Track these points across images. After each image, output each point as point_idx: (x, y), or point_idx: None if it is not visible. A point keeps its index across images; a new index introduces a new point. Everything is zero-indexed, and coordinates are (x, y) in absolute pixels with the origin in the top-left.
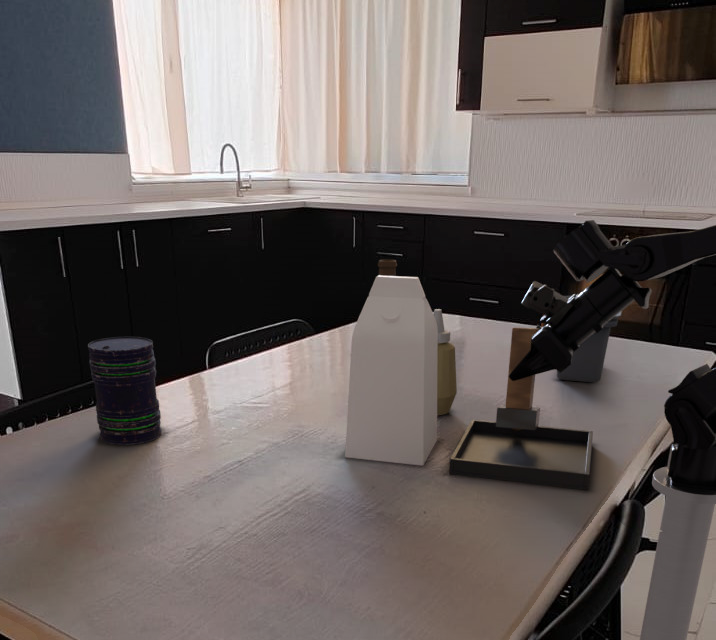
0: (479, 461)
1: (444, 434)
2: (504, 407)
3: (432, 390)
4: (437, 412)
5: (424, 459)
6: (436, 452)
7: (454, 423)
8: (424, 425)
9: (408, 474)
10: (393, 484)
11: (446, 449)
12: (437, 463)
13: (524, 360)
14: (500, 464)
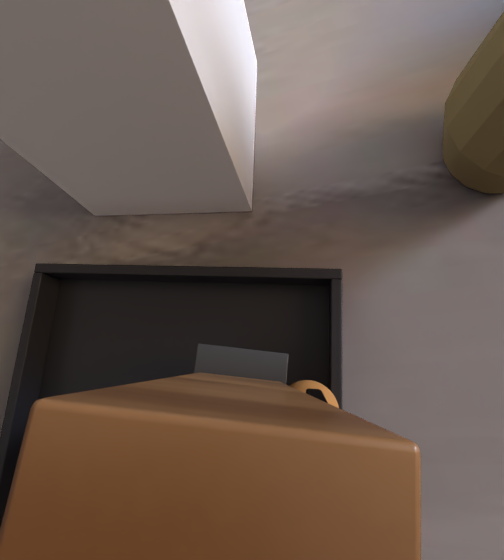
0: (25, 328)
1: (303, 218)
2: (211, 368)
3: (119, 115)
4: (449, 167)
5: (104, 212)
6: (176, 225)
7: (403, 226)
8: (50, 168)
9: (50, 201)
10: (3, 188)
11: (199, 242)
12: (113, 240)
13: None
14: (12, 378)
